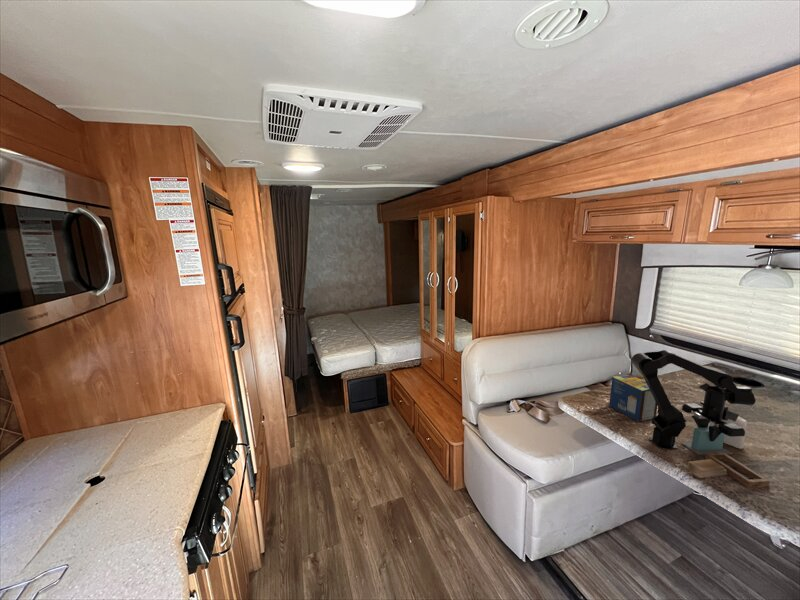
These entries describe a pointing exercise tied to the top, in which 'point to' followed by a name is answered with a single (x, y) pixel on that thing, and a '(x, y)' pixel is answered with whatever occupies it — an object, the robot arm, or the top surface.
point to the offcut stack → (706, 468)
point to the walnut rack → (757, 479)
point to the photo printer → (737, 440)
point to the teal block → (706, 440)
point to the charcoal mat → (703, 452)
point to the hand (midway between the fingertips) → (707, 438)
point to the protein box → (632, 398)
